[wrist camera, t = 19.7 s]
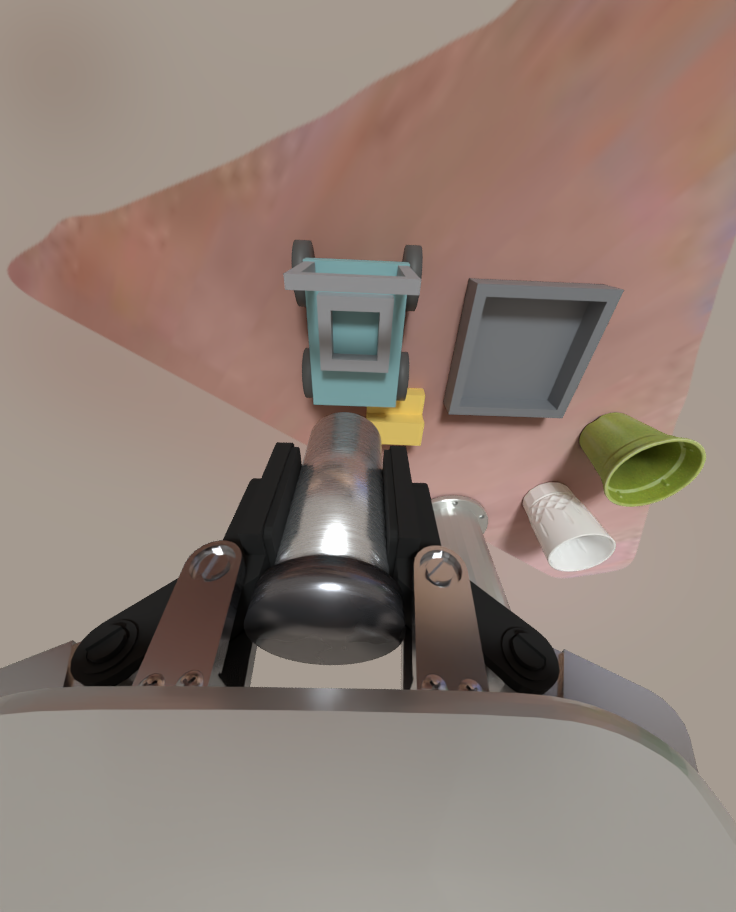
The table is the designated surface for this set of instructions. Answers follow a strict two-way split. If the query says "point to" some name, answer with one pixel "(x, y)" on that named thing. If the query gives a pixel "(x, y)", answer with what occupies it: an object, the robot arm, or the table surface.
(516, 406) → the tray
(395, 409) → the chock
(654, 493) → the plant pot
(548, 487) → the white cup
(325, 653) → the pin
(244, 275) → the table surface
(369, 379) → the trolley
